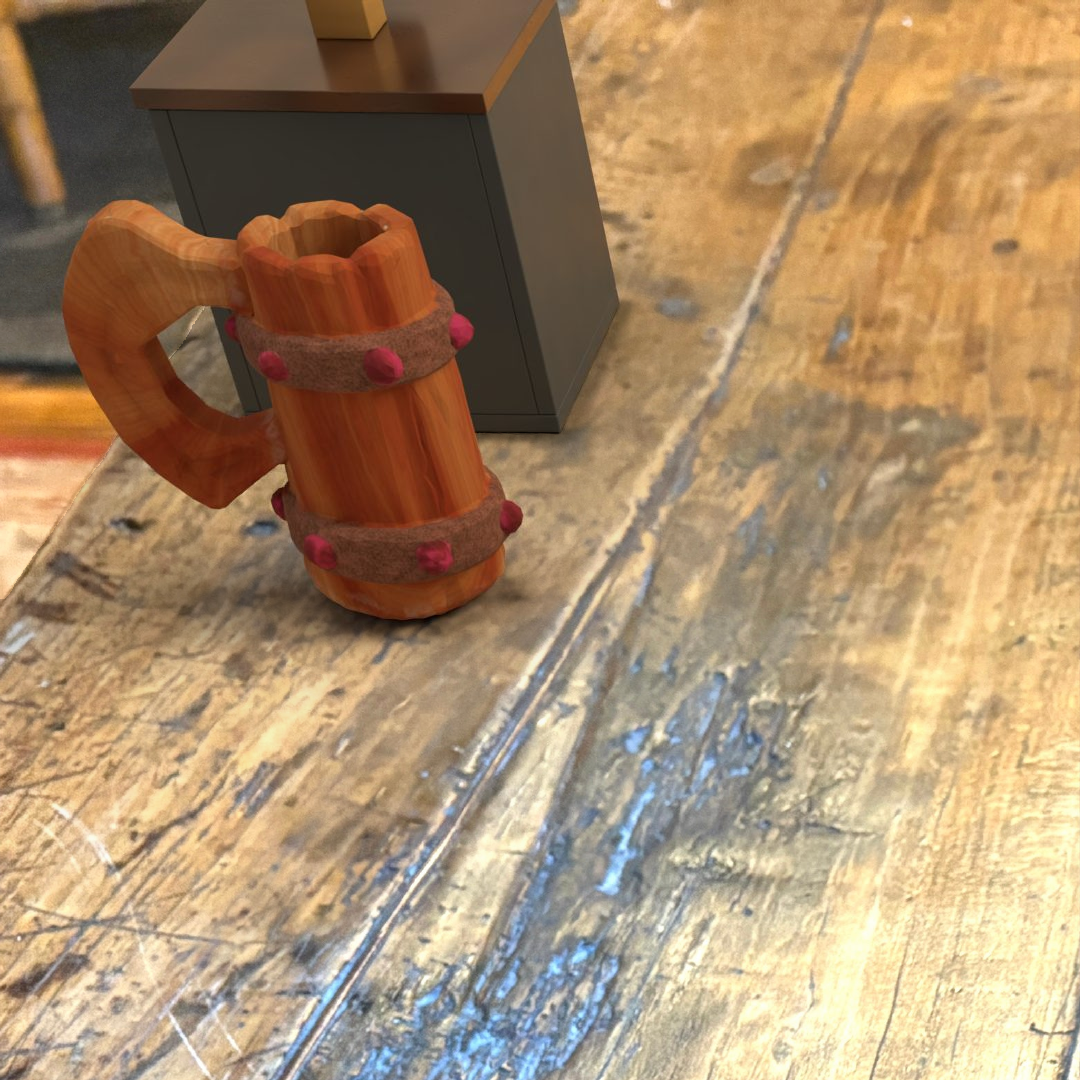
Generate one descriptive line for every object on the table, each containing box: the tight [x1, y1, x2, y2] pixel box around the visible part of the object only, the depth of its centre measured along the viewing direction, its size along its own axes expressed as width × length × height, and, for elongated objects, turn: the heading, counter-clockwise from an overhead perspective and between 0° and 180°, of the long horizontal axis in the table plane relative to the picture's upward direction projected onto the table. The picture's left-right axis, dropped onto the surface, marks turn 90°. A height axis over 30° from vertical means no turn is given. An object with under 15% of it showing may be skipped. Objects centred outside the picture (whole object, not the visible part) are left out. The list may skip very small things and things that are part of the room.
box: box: [147, 0, 620, 433], centre depth 117 cm, size 14×14×13 cm
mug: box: [61, 199, 524, 621], centre depth 102 cm, size 15×8×15 cm, turn 94°
